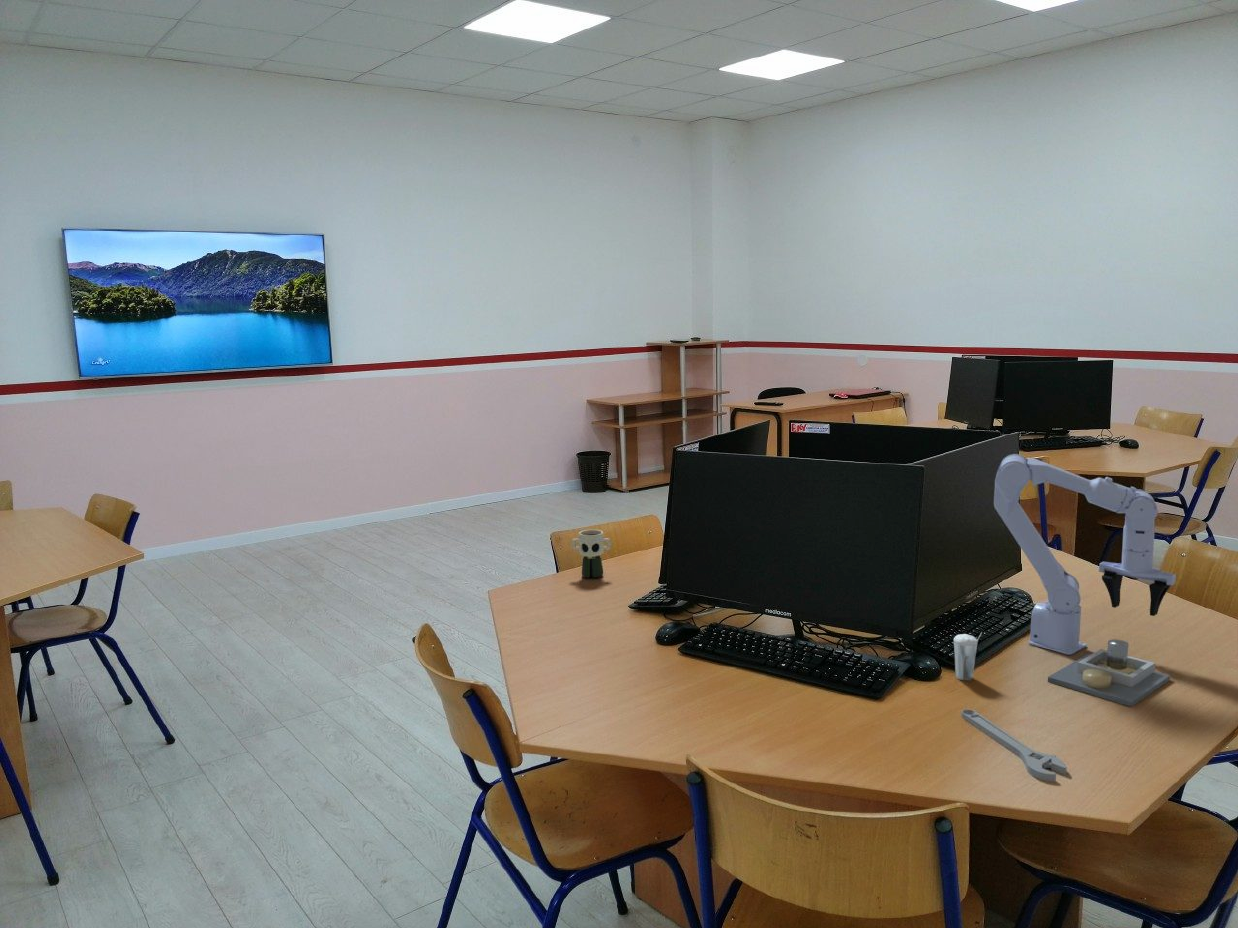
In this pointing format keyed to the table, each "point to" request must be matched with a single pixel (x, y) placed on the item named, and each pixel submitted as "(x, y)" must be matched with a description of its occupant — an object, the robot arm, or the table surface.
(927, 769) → the table surface
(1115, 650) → the flanged metal cylinder
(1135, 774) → the table surface
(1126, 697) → the carrier
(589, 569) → the character mug
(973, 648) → the milkshake
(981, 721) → the adjustable wrench
